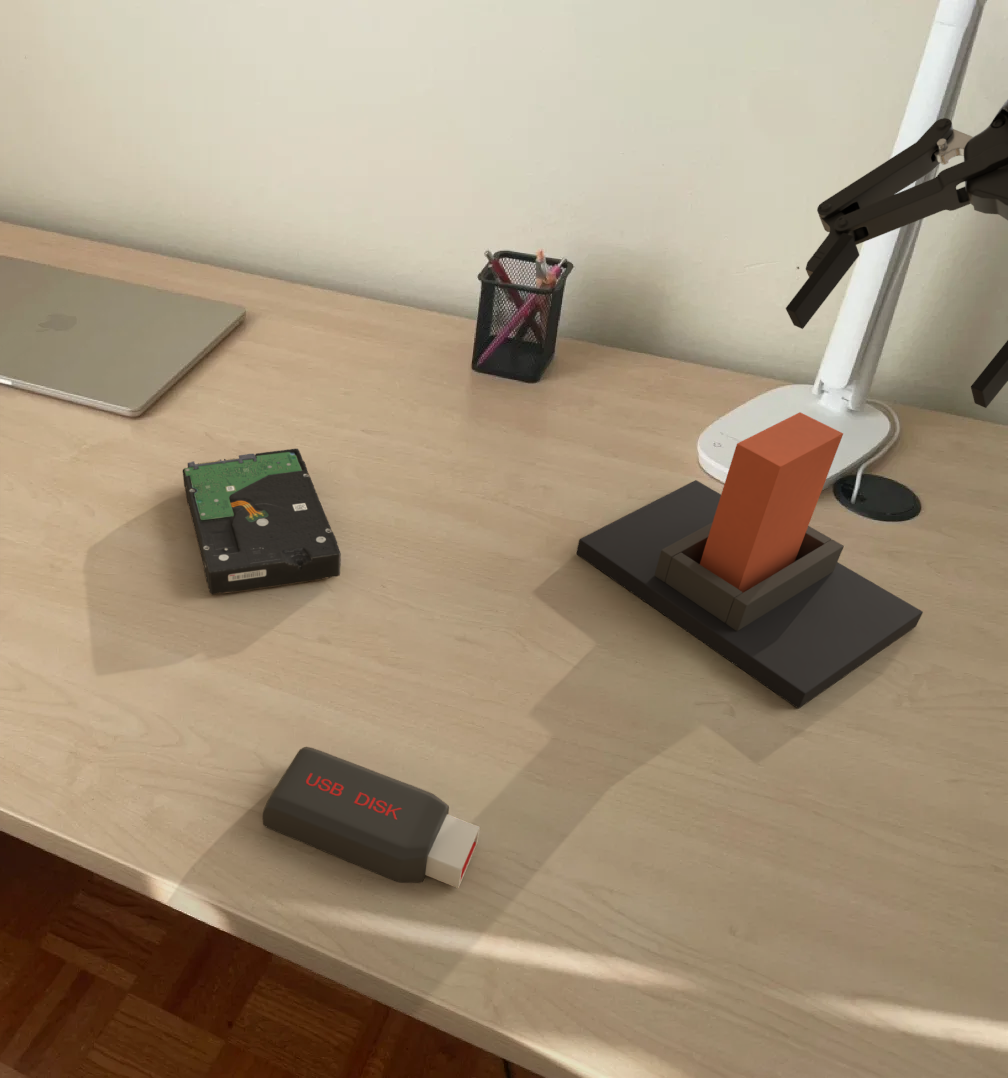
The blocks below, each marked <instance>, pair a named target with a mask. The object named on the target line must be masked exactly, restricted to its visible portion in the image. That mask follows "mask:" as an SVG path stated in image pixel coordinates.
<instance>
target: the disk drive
mask: <svg viewBox="0 0 1008 1078" xmlns="http://www.w3.org/2000/svg"><path fill="white" fill-rule="evenodd" d="M182 477H183V487H184V492H185V495H186V496H185V498H186V502H187V505H188V508H189V509H188V510H189V513H190V516H191V521H192V524H193V529H194V532H195V537H196V541H197V545H198V549H199V552H200V553H199V554H200V557H201V561H202V566H203V571H204V577H205V581H206V583H207V588H208V591H209V594H210V595H212V596H213V595H218V594H228V593H229V594H230V593H232V594H233V593H239V592H247V591H253V590H259V589H265V588H266V589H268V588H272V587H281V586H286V585H294V584H300V583H301V584H302V583H306V582H315V581H320V580H324V579H327V578H329V579H330V578H333V577H335V578H336V577H338V576H340V575H341V565H342V564H341V563H342V562H341V561H342V557H341V550H340V547H339V544H338V541H337V538H336V536H335V533H334V532H333V530H332V527H331V524H330V522H329V520H328V517H327V515H326V513H325V510H324V508H323V505H322V502H321V500H320V498H319V495H318V493H317V491H316V489H315V485H314V483H313V480H312V478H311V476H310V473H309V470H308V468H307V465H306V462H305V460H303V456H302V454H301V451H300V450H299V448H289V449H282V450H274V451H272V450H271V451H265V452H257V453H245V454H239V455H238V458H227V459H226V458H223V460H222V459H218V460H212V461H204V462H198V463H196V462H195V461H189V462H187V467H184V468H183V469H182Z"/></svg>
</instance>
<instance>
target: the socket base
mask: <svg viewBox="0 0 1008 1078" xmlns="http://www.w3.org/2000/svg"><path fill="white" fill-rule="evenodd" d="M721 494H722V493H719V492H717V491H715V490H714V489H712V488H710V486H707V485H705V484H704V483H702V482H700V481H699V480H697V479H695V480H693V481H691V482H689V483H687V484H684V485H683V486H681V487H679V488H677V489H675V490H673V491H671V492H669V493H667V494H665V495H663V496H662V497H660V498H657V499H656V500H653V501H652V502H649V503H648V504H646V505H644V506H642V507H640V508H638V509H636V510H634V511H632V512H630V513H628V514H626V515H624V516H622V517H621V518H618V519H616V520H615V521H613V522H610V523H608V524H606V525H604V526H602V527H600V528H598V529H597V530H595V531H593V532H591V533H589V534H587V535H584V536H583V537H581V538H579V539H578V543H577V548H576V551H575V552H576V553H575V554H576V555H577V556H578V557H580V558H582V559H583V560H585V561H586V562H588V563H589V564H590V565H591V566H593V567H594V568H596V569H597V570H599V571H600V572H602V573H603V574H605V575H606V576H607V577H609V578H610V579H612V580H613V581H615V582H616V583H617V584H619V585H620V586H622V587H623V588H625V589H626V590H627V591H629V592H630V593H632V594H633V595H635V596H636V597H637V598H639V599H640V600H642V601H643V602H645V603H646V604H648V606H650V607H652V608H654V609H655V610H657V612H659V613H661V614H662V615H663V616H665V617H666V618H668V619H669V620H670V621H672V622H673V623H675V624H676V625H678V626H679V627H681V628H682V629H683V630H684V631H686V632H688V633H689V634H691V635H692V636H694V637H695V638H696V639H698V640H699V641H701V642H702V643H703V644H705V645H706V646H707V647H709V648H710V649H712V650H713V651H715V652H716V653H718V654H720V655H721V656H722V657H724V658H725V659H726V660H728V661H730V662H731V663H732V664H734V665H735V666H736V667H738V668H739V669H741V670H742V671H743V672H745V673H747V674H748V675H749V676H751V677H752V678H754V679H755V680H756V681H758V682H759V683H760V684H762V685H763V686H764V687H767V688H768V689H769V690H771V691H772V692H773V693H775V694H776V695H778V696H779V697H781V698H782V699H784V700H785V701H787V702H788V703H790V705H792V706H793V707H795V708H797V709H800V708H802V707H803V706H805V705H806V704H808V703H809V702H810V701H812V700H813V699H815V698H816V697H817V696H819V695H820V694H822V693H823V692H824V691H826V690H828V689H829V688H830V687H832V686H833V685H835V684H836V683H838V682H839V681H840V680H841V679H843V678H845V677H846V676H847V675H849V674H851V673H852V672H853V671H854V670H857V669H858V668H859V667H861V666H862V665H863V664H864V663H866V662H867V661H869V660H870V659H872V658H873V657H875V656H876V655H877V654H879V653H880V652H882V651H883V650H884V649H886V648H887V647H889V646H890V645H892V644H893V643H895V642H896V641H898V640H899V639H900V638H902V637H903V636H905V635H907V634H908V633H909V632H910V631H912V630H913V629H914V628H916V627H917V625H918V624H919V621H920V619H921V617H922V616H923V613H924V612H923V611H922V610H921V609H920V608H918V607H916V606H914V605H912V604H911V603H909V602H907V601H905V600H903V599H902V598H900V597H899V596H896V595H895V594H893V593H892V592H890V591H888V590H887V589H885V588H883V587H881V586H879V585H878V584H876V583H874V582H873V581H872V580H869V579H867V578H866V577H864V576H862V575H860V574H859V573H857V572H855V571H854V570H852V569H850V568H848V567H847V566H846V565H843V564H842V563H840V562H839V560H840V557H841V554H842V552H843V550H844V547H845V546H844V545H843V544H841V543H840V542H838V541H836V540H835V539H832V538H831V537H829V536H827V535H826V534H823V533H822V532H821V531H819V530H817V529H815V528H813V527H811V526H810V525H808V528H807V531H806V533H805V536H804V538H803V541H802V544H801V546H800V549H799V552H798V554H797V557H796V559H795V562H794V563H792V564H790V565H789V566H787V567H785V568H784V569H782V570H780V571H779V572H777V573H775V574H774V575H772V576H770V577H769V578H767V579H765V580H764V581H762V582H760V583H759V584H757V585H755V586H754V587H752V588H750V589H749V590H747V591H745V592H744V593H743V592H742V591H740V590H739V589H737V588H736V587H734V586H732V585H731V584H729V583H728V582H726V581H725V580H723V579H721V578H720V577H718V576H717V575H715V574H714V573H712V572H711V571H709V570H707V569H706V568H704V567H703V566H701V565H700V562H701V559H702V555H703V552H704V549H705V546H706V542H707V539H708V536H709V533H710V529H711V526H712V523H713V520H714V516H715V513H716V510H717V507H718V503H719V500H720V497H721Z"/></svg>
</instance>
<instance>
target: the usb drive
mask: <svg viewBox="0 0 1008 1078" xmlns="http://www.w3.org/2000/svg"><path fill="white" fill-rule="evenodd" d="M265 803H266V804H265V806H264V808H263V812H262V825H263V826H264V827H266V828H267V829H270V830H273V831H275V832H277V833H280V834H282V835H284V836H287V837H289V838H291V839H294V840H296V841H298V842H301V843H304V844H306V845H308V846H311V847H313V848H315V849H317V850H320V851H322V852H325V853H327V854H330V855H332V856H334V857H337V858H340V859H342V860H343V861H347V862H349V863H351V864H354V865H356V866H359V867H360V868H363V869H366V870H368V871H371V872H372V873H375V874H378V875H379V876H383V877H385V878H387V879H390V880H392V881H395V882H398V883H422V882H423V881H424V880H425V877H426V876H427V877H429V878H431V879H434V880H437V881H439V882H442V883H444V884H446V885H449V886H451V887H454V888H456V889H460V885H461V883H462V881H463V879H464V876H465V874H466V871H467V869H468V867H469V864H470V862H471V859H472V858H473V856H474V852H475V851H476V848H477V845H478V840H479V836H480V830H481V826H479V825H476V824H475V823H471V822H469V821H466V820H463V819H461V818H458V817H455V816H453V815H451V814H449V812H450V805H449V804H448V803H446V802H445V801H443V799H441V798H440V797H438V796H437V795H436V794H435V793H432V792H430V791H427V790H426V789H422V788H420V787H418V786H415V785H412V784H409V783H406V782H403V781H402V780H399V779H396V778H393V777H391V776H389V775H386V774H383V773H380V772H377V771H375V770H372V769H370V768H367V767H364V766H362V765H359V764H357V763H354V762H351V761H349V760H347V759H344V758H341V757H339V756H335V755H333V754H330V753H327V752H325V751H322V750H320V749H317V748H314V747H310V746H303V747H302V748H300V749H299V750H298V751H297V753H296V755H295V756H294V758H293V760H291V762H290V764H289V766H288V767H287V769H286V770H285V772H284V773H283V776H282V777H281V778H280V780H279V782H278V783H277V784H276V787H274V790H273V791H272V792H271V794H270V795H269V798H268V799H267V801H266V802H265Z"/></svg>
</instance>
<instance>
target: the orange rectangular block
mask: <svg viewBox="0 0 1008 1078" xmlns="http://www.w3.org/2000/svg"><path fill="white" fill-rule="evenodd" d="M843 436H844V433H843V432H841V431H840V430H838V429H835V428H833V427H831V426H830V425H827V424H825V423H824V422H821V421H819V420H817V419H815V418H813V417H811V416H809V415H807V414H805V413H802V412H798V413H796V414H793V415H791V416H789V417H787V418H786V419H785V418H784V420H781V421H779V422H777V423H775V424H773V425H771V426H769V427H767V428H765V429H763V430H761V431H760V432H758V433H755V434H754V435H751V436H750V437H748V438H745V439H743V440H741V441H739V442H737V443H736V445H735V449H734V452H733V455H732V458H731V462H730V465H729V468H728V471H727V474H726V478H725V480H724V484H723V487H722V490H721V493H720V494H721V497H720V500H719V503H718V507H717V510H716V513H715V516H714V520H713V523H712V526H711V529H710V533H709V536H708V539H707V542H706V546H705V549H704V552H703V555H702V559H701V562H700V565H701V566H703V567H704V568H706V569H707V570H709V571H711V572H712V573H714V574H715V575H717V576H718V577H720V578H721V579H723V580H725V581H726V582H728V583H729V584H731V585H732V586H734V587H736V588H737V589H739V590H740V591H742V592H743V593H744V592H745V591H747V590H749V589H750V588H752V587H754V586H755V585H757V584H759V583H760V582H762V581H764V580H765V579H767V578H769V577H770V576H772V575H774V574H775V573H777V572H779V571H780V570H782V569H784V568H785V567H787V566H789V565H790V564H792V563H794V562H795V559H796V557H797V554H798V552H799V549H800V546H801V544H802V541H803V538H804V536H805V533H806V531H807V528H808V526H810V523H811V521H812V517H813V515H814V512H815V509H816V507H817V504H818V501H819V499H820V496H821V494H822V491H823V489H824V485H825V483H826V482H827V478H828V475H829V473H830V470H831V467H832V465H833V462H834V459H835V457H836V454H837V451H838V450H839V447H840V444H841V441H842V439H843Z"/></svg>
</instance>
